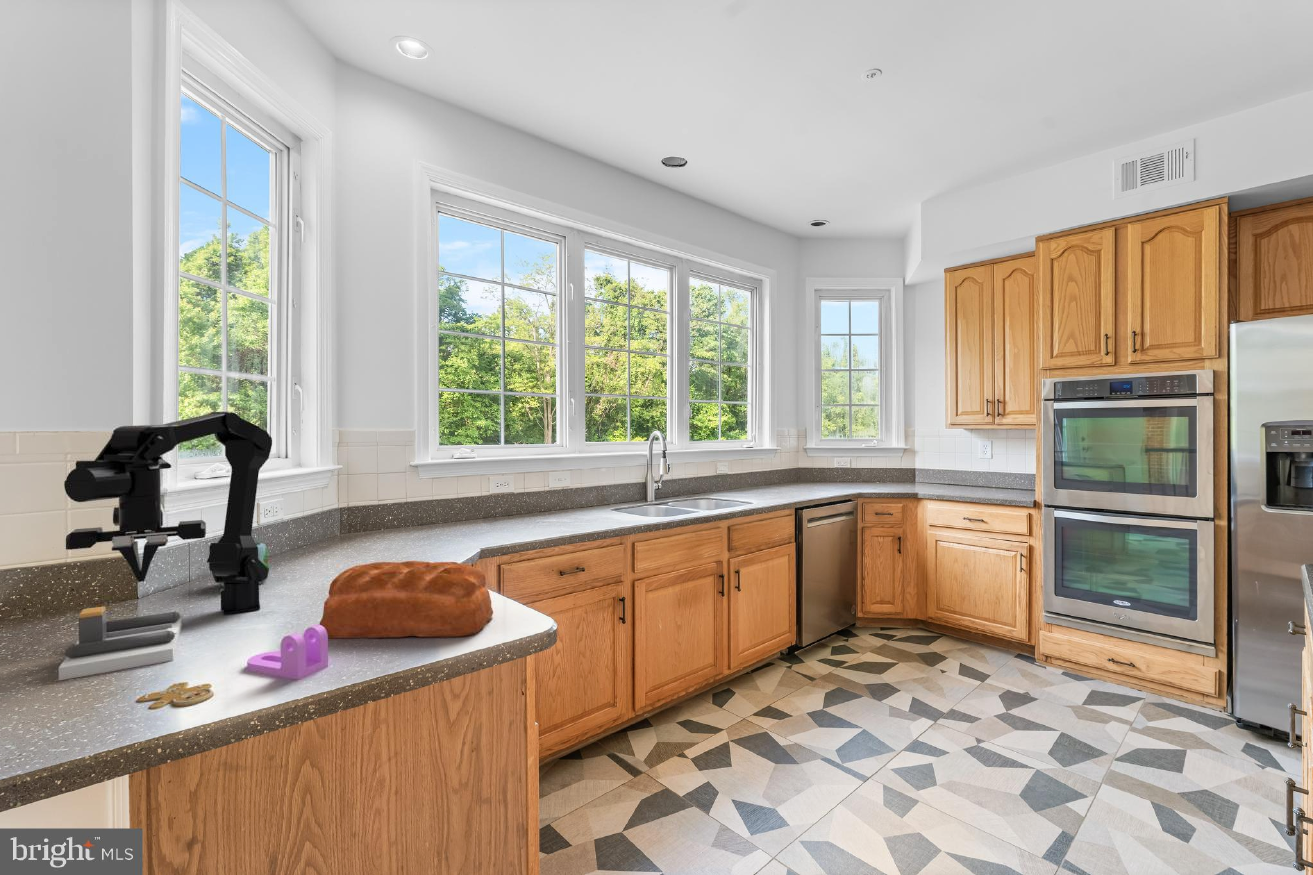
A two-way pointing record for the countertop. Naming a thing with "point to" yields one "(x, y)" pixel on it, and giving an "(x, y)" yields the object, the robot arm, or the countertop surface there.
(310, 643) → the bracket
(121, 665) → the panel
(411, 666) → the countertop surface
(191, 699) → the cookie
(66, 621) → the countertop surface
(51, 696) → the countertop surface
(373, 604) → the bread
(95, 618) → the toggle
